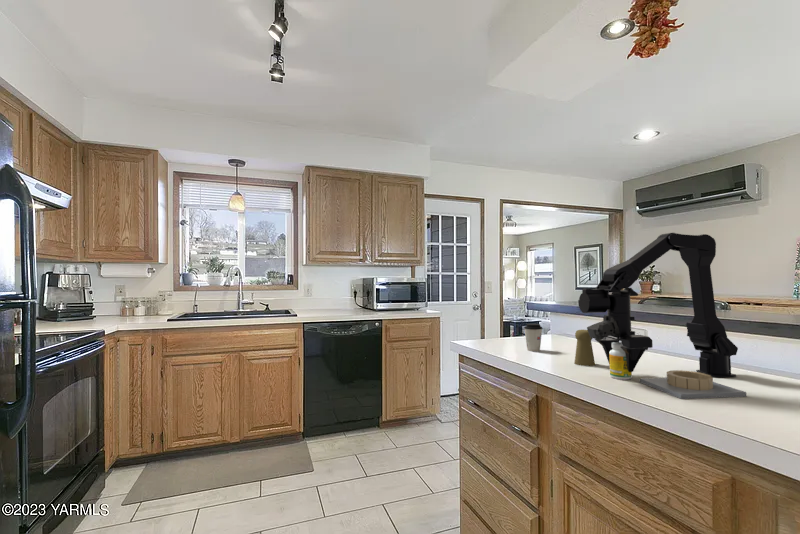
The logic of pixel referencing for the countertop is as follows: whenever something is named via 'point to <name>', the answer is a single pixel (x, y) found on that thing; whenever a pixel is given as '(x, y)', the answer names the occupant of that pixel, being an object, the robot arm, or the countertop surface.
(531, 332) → the coffee cup
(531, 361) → the countertop surface
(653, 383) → the socket stand
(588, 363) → the cork
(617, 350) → the supplement bottle
